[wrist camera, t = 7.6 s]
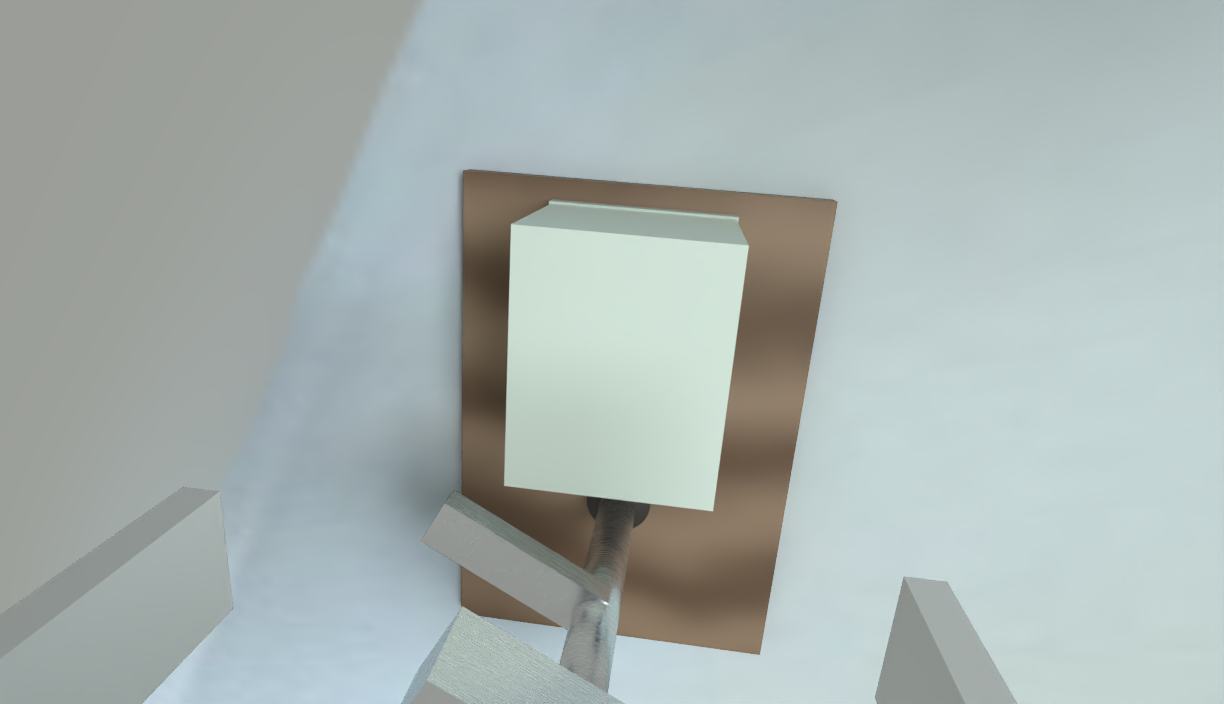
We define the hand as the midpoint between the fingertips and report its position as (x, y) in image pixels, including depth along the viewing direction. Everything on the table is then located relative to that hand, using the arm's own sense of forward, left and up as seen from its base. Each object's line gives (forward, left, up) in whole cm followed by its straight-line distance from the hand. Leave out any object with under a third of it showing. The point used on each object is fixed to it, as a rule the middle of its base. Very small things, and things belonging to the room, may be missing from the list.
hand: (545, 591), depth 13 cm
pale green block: (0, 0, -20) cm, 20 cm away
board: (+6, 0, -21) cm, 22 cm away
